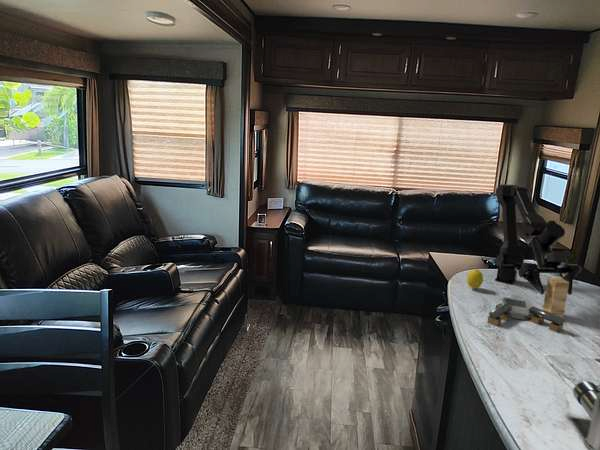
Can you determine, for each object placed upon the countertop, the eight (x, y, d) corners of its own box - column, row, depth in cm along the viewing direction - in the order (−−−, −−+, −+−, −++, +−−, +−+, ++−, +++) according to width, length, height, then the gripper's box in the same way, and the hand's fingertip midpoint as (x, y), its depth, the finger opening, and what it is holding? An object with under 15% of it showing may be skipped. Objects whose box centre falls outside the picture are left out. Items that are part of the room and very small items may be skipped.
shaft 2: (526, 319, 145) (529, 307, 144) (533, 317, 146) (535, 305, 145) (557, 332, 136) (559, 319, 135) (563, 330, 138) (565, 317, 137)
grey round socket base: (494, 302, 158) (495, 294, 157) (531, 308, 154) (533, 299, 153) (496, 316, 146) (498, 307, 146) (537, 322, 143) (539, 313, 142)
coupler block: (541, 312, 151) (547, 277, 148) (555, 312, 151) (561, 277, 148) (549, 318, 146) (555, 282, 144) (563, 318, 147) (569, 282, 144)
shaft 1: (502, 314, 148) (504, 302, 147) (511, 318, 145) (513, 305, 144) (486, 322, 142) (488, 309, 141) (496, 326, 139) (498, 313, 138)
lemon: (479, 286, 173) (481, 267, 171) (483, 292, 167) (486, 271, 166) (464, 285, 173) (466, 266, 171) (468, 291, 168) (470, 270, 166)
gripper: (527, 239, 148) (540, 283, 140) (582, 241, 148) (599, 284, 140) (512, 255, 157) (524, 297, 149) (564, 257, 158) (579, 298, 150)
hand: (556, 294), depth 147 cm, fingers open, 9 cm apart
